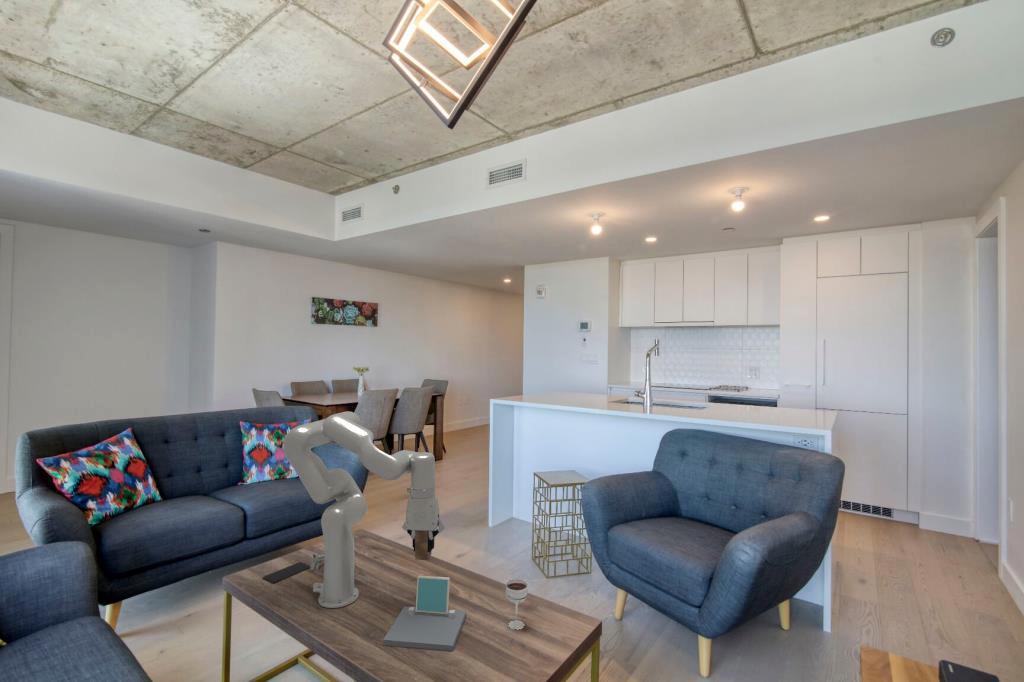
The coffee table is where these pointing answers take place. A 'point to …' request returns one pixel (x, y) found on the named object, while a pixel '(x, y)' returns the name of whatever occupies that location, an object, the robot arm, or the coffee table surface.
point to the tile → (432, 594)
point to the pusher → (421, 545)
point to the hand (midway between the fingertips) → (423, 549)
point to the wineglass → (516, 598)
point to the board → (425, 629)
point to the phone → (286, 572)
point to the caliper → (316, 561)
